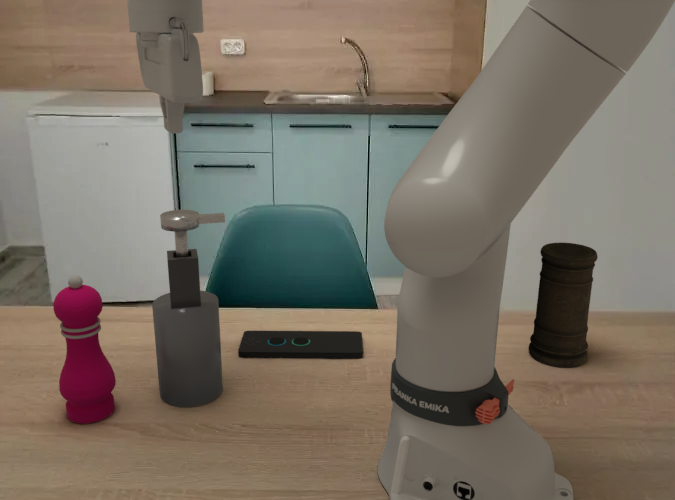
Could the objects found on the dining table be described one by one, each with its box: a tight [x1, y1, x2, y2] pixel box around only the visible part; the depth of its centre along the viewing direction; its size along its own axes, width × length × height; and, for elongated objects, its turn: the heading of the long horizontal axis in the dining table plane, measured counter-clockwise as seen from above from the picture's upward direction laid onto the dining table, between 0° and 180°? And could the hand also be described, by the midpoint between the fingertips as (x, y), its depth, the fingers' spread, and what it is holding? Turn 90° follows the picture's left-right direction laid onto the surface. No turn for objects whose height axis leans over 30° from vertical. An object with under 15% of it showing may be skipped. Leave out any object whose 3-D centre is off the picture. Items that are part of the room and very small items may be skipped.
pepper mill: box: [53, 274, 117, 424], centre depth 92 cm, size 7×7×20 cm
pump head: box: [160, 209, 226, 258], centre depth 94 cm, size 8×5×9 cm, turn 104°
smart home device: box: [237, 330, 364, 360], centre depth 114 cm, size 8×2×20 cm
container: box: [528, 242, 599, 368], centre depth 110 cm, size 9×9×18 cm
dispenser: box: [151, 248, 224, 409], centre depth 97 cm, size 9×9×21 cm
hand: (173, 131), depth 89 cm, fingers closed
